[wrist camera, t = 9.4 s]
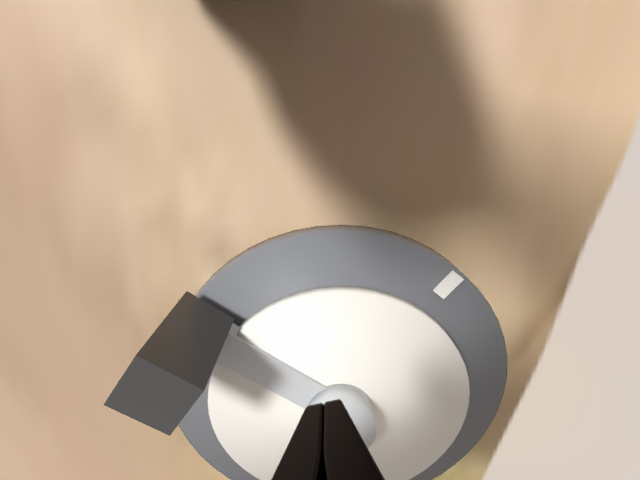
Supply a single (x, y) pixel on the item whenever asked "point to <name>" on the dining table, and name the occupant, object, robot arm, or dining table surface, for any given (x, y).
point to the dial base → (372, 272)
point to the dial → (305, 375)
